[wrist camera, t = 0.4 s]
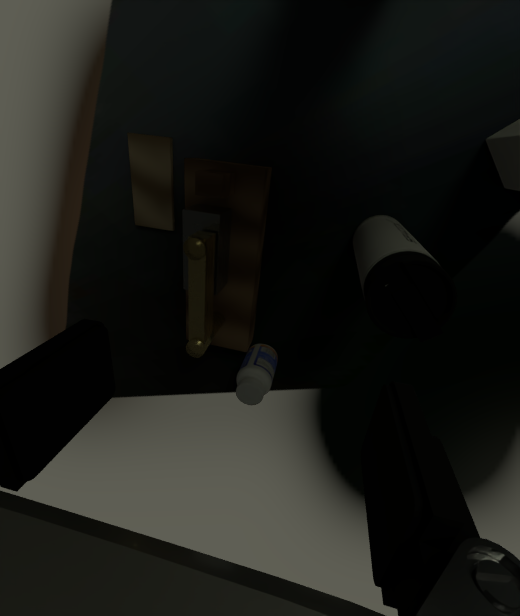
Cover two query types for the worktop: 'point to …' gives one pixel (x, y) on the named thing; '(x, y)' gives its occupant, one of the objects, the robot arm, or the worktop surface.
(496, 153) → the milk
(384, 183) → the worktop surface
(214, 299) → the plane body
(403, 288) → the travel mug
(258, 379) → the pill bottle
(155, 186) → the cork pad
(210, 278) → the lever
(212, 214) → the black rectangular block
